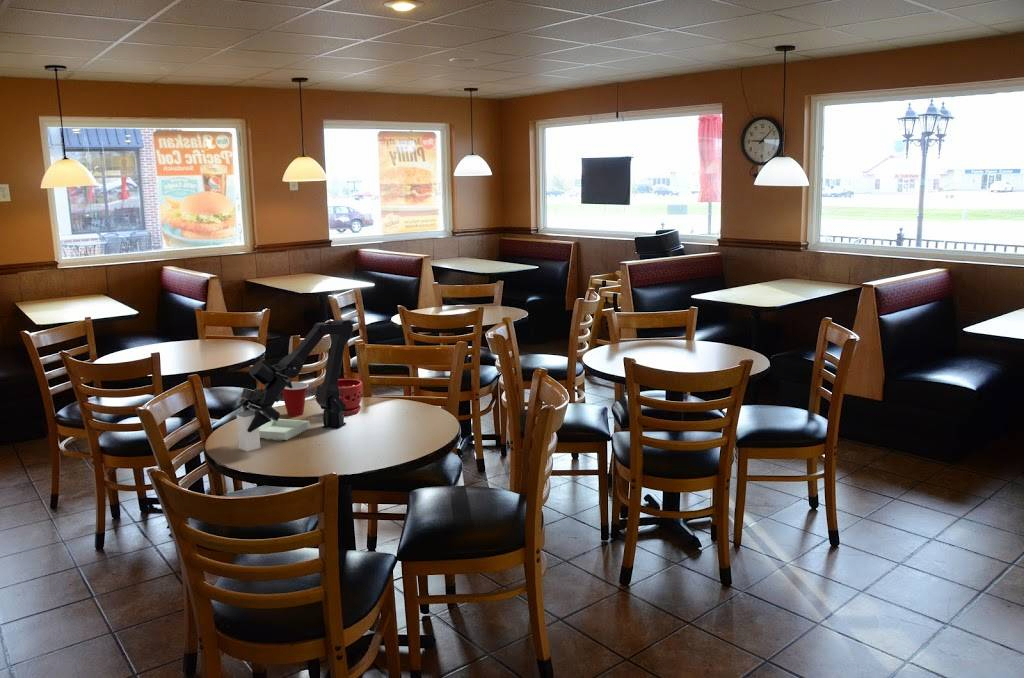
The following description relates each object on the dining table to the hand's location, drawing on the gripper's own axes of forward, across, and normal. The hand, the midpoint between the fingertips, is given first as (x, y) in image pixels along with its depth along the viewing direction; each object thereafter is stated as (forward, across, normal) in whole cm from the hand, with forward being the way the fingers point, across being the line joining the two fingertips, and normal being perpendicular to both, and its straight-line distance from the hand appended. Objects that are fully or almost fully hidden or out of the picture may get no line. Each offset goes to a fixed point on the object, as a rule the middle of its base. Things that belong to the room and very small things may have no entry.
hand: (244, 430), depth 277 cm
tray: (-7, -8, +17) cm, 20 cm away
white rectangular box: (+4, 0, +6) cm, 7 cm away
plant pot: (-29, -13, +39) cm, 50 cm away
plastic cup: (-19, -26, +29) cm, 43 cm away
